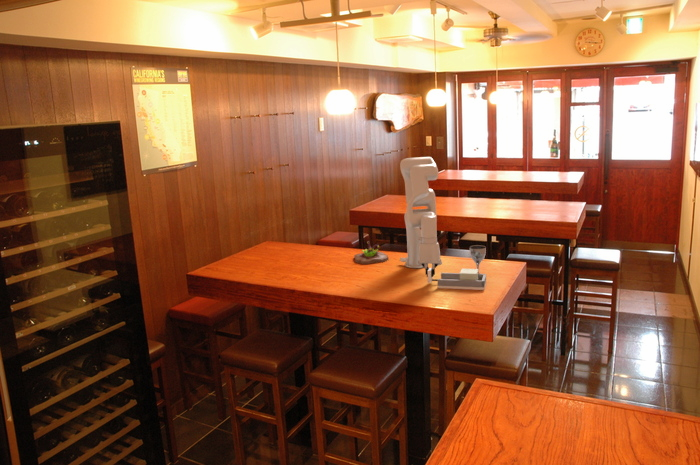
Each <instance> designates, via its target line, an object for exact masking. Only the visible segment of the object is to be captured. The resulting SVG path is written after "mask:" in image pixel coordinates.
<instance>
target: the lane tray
mask: <svg viewBox="0 0 700 465" xmlns="http://www.w3.org/2000/svg"><path fill="white" fill-rule="evenodd" d="M437 280H438V281H437V289H448V290H449V289H452V290H455V289H456V290H474V291H475V290H479V291H485V289H486V284H487V273H481V274H478V280H460V272H441V273H440V278H438V279H437Z"/></svg>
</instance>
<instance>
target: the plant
mask: <svg viewBox="0 0 700 465" xmlns="http://www.w3.org/2000/svg"><path fill="white" fill-rule="evenodd" d="M366 243H367V244H368V249H367V248H365V250H364V249H362V250H361V251H362V253H357V254H354V256H353V257H354V258H355V259H354V262H355V263H357V264H360V265H372V264H371V263H373V264H379V263H378V262H382V263H386V262H387V260H388V261H389V256H388V254H386V253H384V252H381V251H379V249H374V248H375V247H377V248H380V245H379V244H374V245H373V246H372V245H371V243H370V241H369V240H367V241H366ZM385 261H386V262H385Z"/></svg>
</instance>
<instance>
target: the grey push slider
mask: <svg viewBox="0 0 700 465" xmlns="http://www.w3.org/2000/svg"><path fill="white" fill-rule="evenodd" d="M431 269H432V267H429V269H428V277H427V283H432V282H438V279H434V276H433V277H431ZM459 273H460V280H478V269H477V268H461V270H460V272H459Z"/></svg>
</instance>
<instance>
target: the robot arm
mask: <svg viewBox="0 0 700 465" xmlns="http://www.w3.org/2000/svg"><path fill="white" fill-rule="evenodd" d="M399 165H400V166H399V167H400V168H399V169H400V173H401V176H402V177H403V180H404V186H405V187H404V188H405V189H404V190H405V201H406V212H404V218H403V219H404V224H405V229H406V249H407V253H406V254H407V256H406V257H400V259H399V260H400V262H401V263H404V266H405V267H406V268H410V269H422V268H423V269H424V270H425V271H424V272H425V275H426V278H428V269H429V268H430V267H429V264H431V268H432V269H431V277H433V278H434V277H435V275H436V268H437V267H438V266H440V265H443V262H442V259H441V251H440V250H441V249H440V244H439V242H438V236H437V235H438V232H437V230H438V229H437V228H438V227H437V221H438V219H437V217H438V216H437V214H438V213H437V203H436V199H437V198H436V193H435V191H434V190H433V189H432V188H429V187H430V186H429V181H437V179H438V178H439V169H438V166H437V163H436V162H435V161H434V159H433V158H432V156H420V157H418V156H417V157H407V158H403V159H402V160H401V161H400V163H399ZM417 207H418V208H417ZM419 207H426V208H419ZM413 208H415V209H413ZM416 208H417V209H416Z"/></svg>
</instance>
